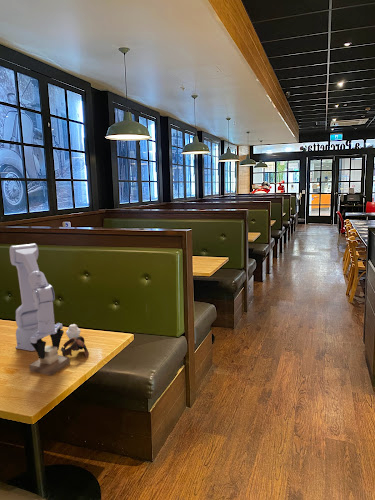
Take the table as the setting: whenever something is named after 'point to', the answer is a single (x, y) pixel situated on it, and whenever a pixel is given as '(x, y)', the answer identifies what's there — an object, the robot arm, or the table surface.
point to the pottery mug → (74, 346)
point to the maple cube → (50, 355)
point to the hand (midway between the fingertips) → (49, 353)
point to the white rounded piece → (73, 331)
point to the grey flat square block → (49, 366)
